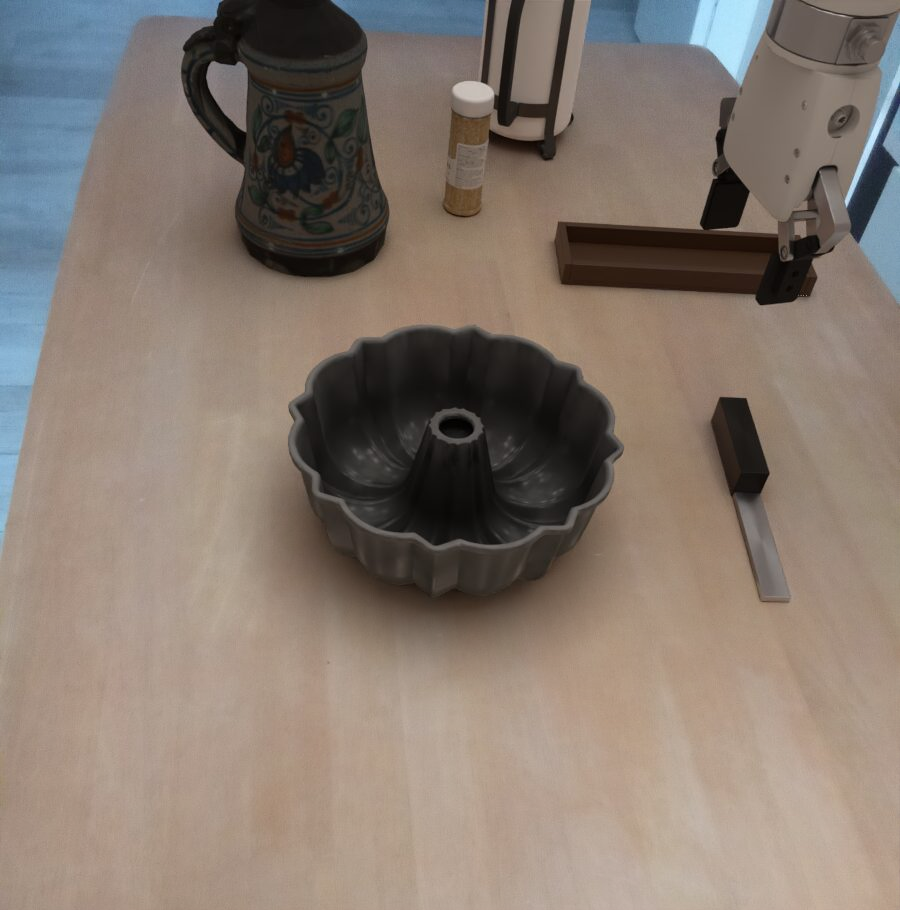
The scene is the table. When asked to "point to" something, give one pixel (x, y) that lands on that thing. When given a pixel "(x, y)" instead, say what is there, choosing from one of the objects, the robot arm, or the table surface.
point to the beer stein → (295, 132)
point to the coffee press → (533, 66)
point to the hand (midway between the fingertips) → (745, 262)
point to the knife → (749, 492)
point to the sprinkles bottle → (467, 146)
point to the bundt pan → (452, 456)
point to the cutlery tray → (666, 257)
